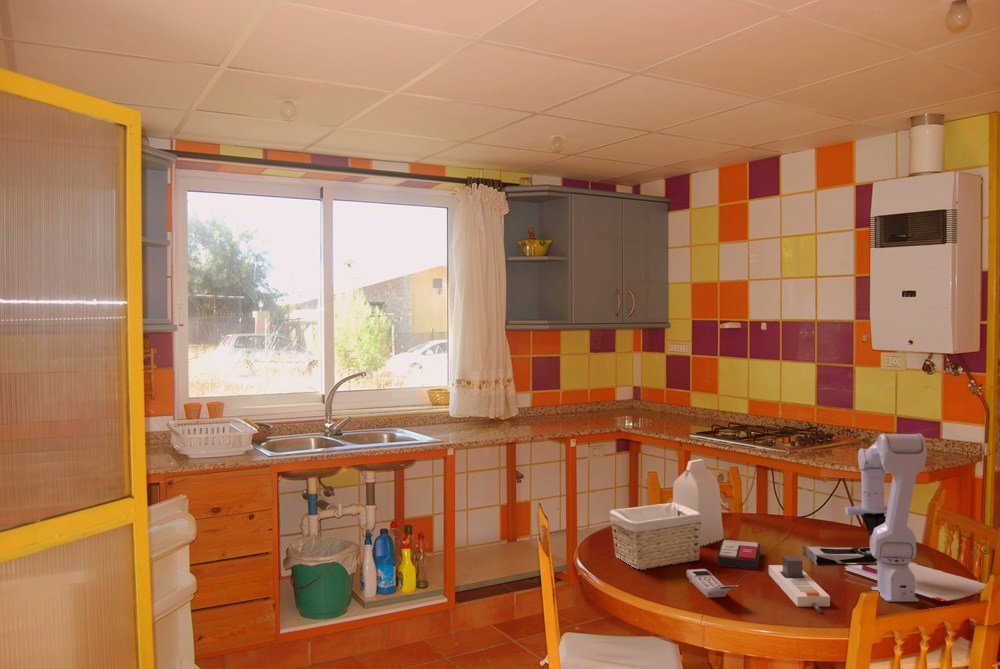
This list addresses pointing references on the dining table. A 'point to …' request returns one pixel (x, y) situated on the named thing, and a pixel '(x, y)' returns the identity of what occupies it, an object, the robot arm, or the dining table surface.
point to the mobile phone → (707, 583)
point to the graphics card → (839, 555)
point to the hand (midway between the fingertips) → (873, 540)
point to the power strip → (800, 589)
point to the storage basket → (656, 535)
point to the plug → (792, 567)
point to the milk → (701, 499)
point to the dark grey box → (739, 554)
